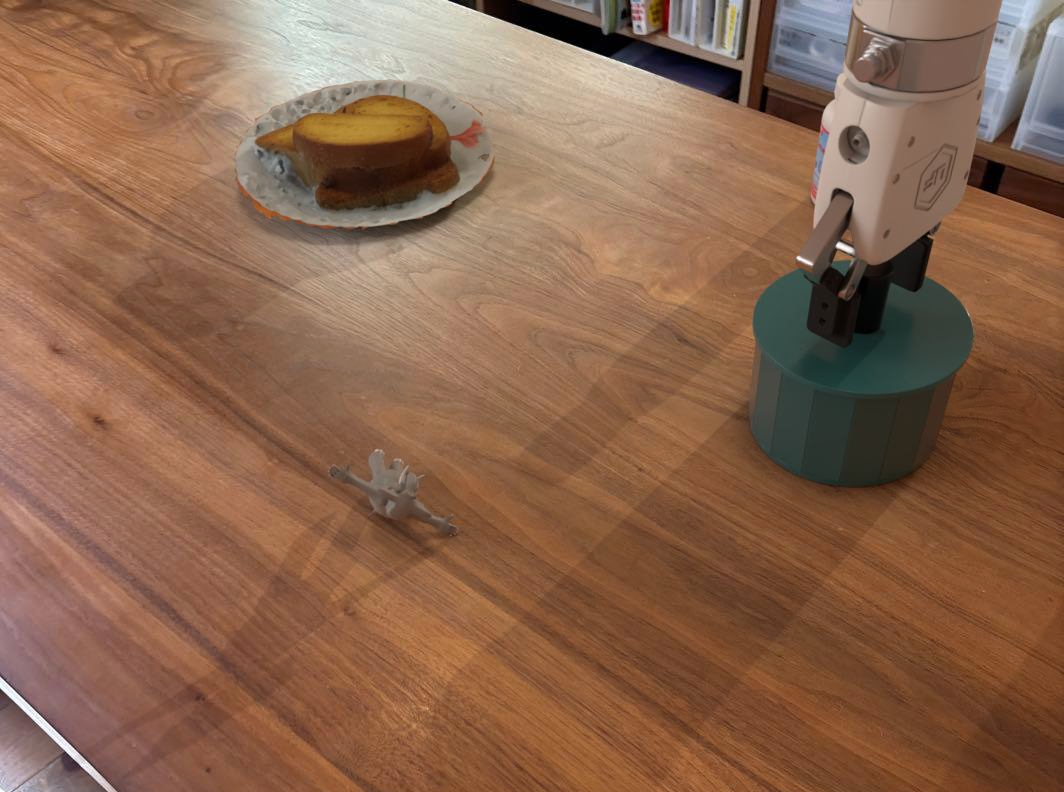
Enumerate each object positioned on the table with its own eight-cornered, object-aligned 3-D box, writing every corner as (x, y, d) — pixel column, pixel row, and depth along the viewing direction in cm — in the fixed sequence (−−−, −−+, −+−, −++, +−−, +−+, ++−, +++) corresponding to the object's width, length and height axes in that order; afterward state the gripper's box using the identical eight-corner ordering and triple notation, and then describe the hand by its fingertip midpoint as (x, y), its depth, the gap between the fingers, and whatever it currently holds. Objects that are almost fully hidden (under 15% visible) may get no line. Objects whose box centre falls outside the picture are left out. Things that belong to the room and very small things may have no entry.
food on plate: (448, 86, 119) (441, 24, 114) (535, 199, 104) (532, 134, 99) (216, 143, 114) (198, 82, 109) (271, 272, 99) (253, 207, 94)
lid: (834, 248, 82) (846, 180, 78) (1012, 329, 75) (1036, 259, 70) (708, 341, 76) (713, 272, 72) (887, 439, 69) (905, 369, 64)
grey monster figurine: (464, 461, 81) (486, 513, 73) (422, 526, 83) (438, 584, 75) (344, 397, 77) (353, 444, 69) (303, 467, 79) (306, 521, 71)
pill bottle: (809, 182, 102) (825, 62, 94) (877, 183, 102) (900, 62, 93) (810, 219, 99) (828, 97, 90) (881, 220, 98) (906, 98, 89)
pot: (821, 339, 88) (837, 247, 81) (974, 417, 81) (1004, 323, 74) (711, 425, 82) (718, 333, 76) (864, 516, 75) (887, 424, 69)
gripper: (883, 128, 55) (831, 399, 68) (1064, 7, 62) (986, 273, 75) (762, 83, 59) (735, 348, 72) (946, -27, 66) (892, 232, 79)
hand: (864, 307), depth 74 cm, fingers open, 7 cm apart
